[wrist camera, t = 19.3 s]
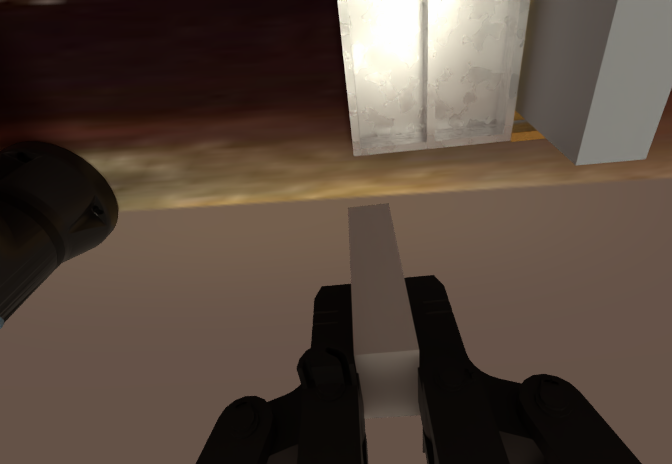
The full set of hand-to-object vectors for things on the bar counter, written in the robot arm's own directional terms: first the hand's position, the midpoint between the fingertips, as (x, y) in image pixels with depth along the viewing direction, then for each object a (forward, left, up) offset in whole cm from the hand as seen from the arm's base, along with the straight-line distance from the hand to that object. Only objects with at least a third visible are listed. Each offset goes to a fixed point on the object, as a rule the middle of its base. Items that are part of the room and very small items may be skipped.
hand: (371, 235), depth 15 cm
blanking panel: (+10, +16, -30) cm, 35 cm away
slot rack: (+5, +9, -30) cm, 32 cm away
